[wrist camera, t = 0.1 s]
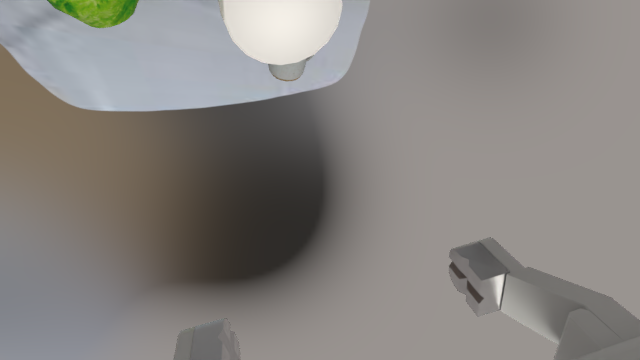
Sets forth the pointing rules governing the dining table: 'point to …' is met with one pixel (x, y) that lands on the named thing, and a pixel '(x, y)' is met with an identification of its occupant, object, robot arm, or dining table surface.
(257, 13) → the milk container
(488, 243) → the robot arm
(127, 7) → the lettuce
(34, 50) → the dining table surface
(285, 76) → the ceramic mug
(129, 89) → the dining table surface
